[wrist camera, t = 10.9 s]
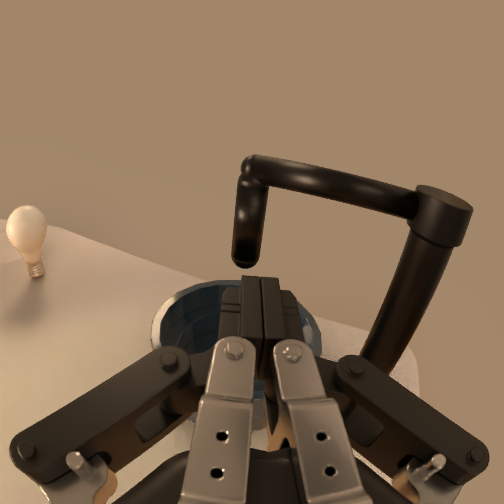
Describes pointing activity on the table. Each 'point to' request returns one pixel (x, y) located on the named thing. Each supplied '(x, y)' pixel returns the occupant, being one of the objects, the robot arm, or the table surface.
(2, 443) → the table surface
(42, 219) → the lightbulb
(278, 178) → the spout
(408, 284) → the base
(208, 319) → the basin
